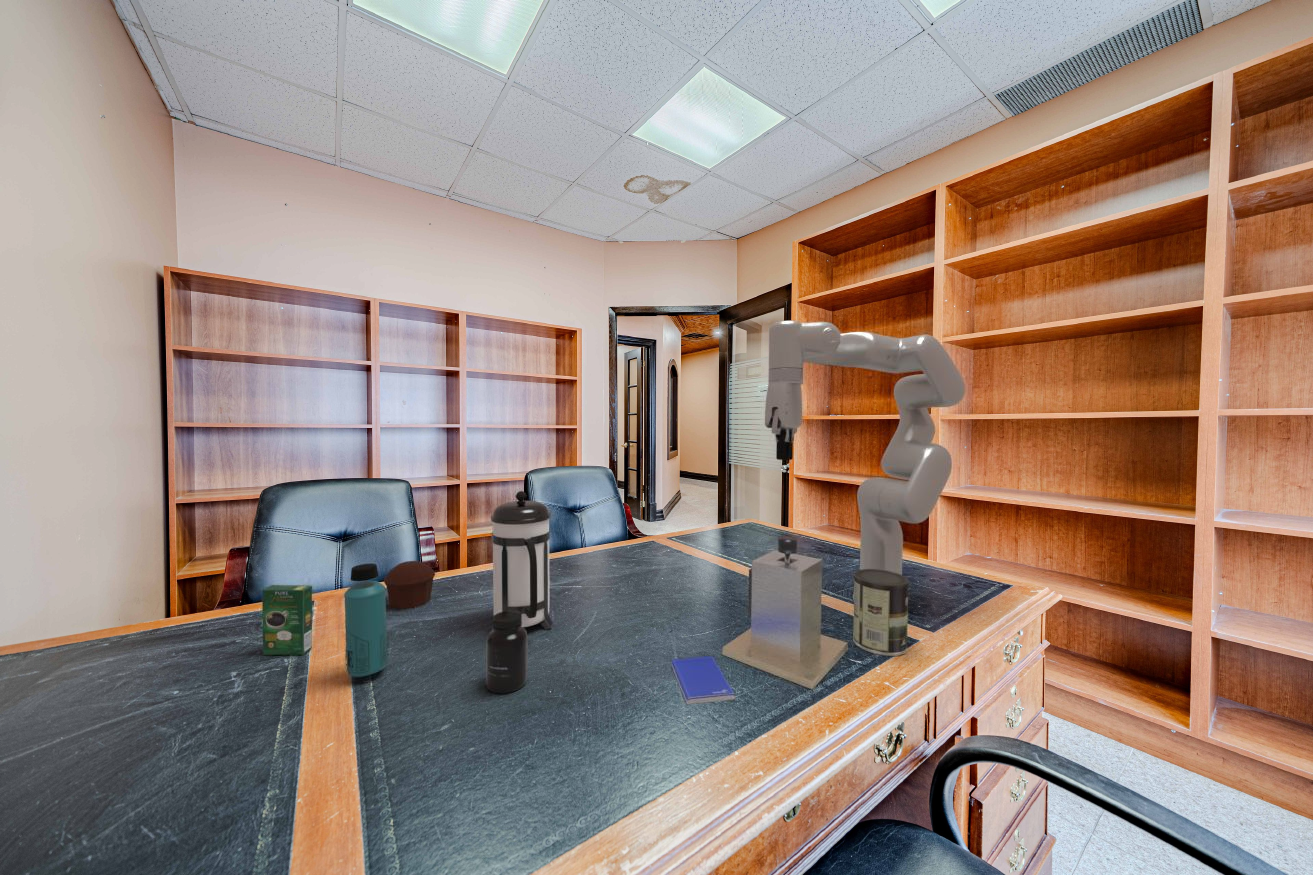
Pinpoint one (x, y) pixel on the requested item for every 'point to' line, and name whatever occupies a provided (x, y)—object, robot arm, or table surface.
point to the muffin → (409, 584)
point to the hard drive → (701, 680)
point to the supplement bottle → (506, 653)
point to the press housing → (786, 621)
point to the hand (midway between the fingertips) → (784, 459)
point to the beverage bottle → (365, 623)
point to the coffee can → (880, 612)
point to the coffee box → (287, 619)
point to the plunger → (787, 546)
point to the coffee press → (521, 560)
